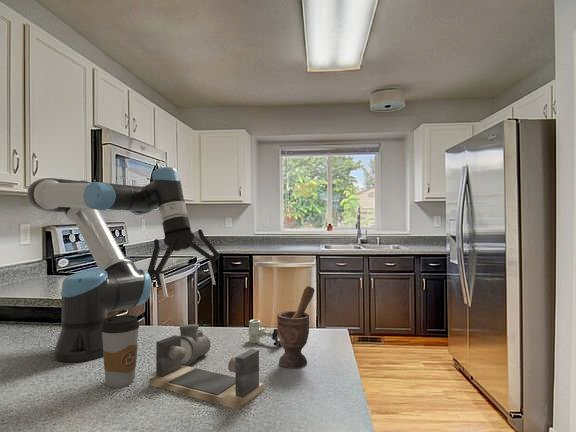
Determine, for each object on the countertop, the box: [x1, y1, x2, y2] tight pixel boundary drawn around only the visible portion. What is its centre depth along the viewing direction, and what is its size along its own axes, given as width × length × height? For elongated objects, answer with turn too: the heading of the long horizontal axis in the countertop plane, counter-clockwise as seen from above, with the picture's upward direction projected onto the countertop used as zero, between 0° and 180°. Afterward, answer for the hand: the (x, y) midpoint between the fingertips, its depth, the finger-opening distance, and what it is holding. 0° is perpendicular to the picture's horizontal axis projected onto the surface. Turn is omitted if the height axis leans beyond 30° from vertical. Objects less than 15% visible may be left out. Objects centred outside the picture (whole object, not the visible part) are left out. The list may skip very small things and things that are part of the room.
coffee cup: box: [101, 314, 140, 389], centre depth 90 cm, size 8×8×15 cm
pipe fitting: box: [179, 323, 211, 367], centre depth 105 cm, size 12×8×10 cm
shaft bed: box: [149, 335, 265, 410], centre depth 87 cm, size 25×10×10 cm, turn 62°
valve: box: [247, 319, 282, 348], centre depth 119 cm, size 7×7×12 cm
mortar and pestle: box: [276, 285, 315, 369], centre depth 103 cm, size 12×9×20 cm
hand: (190, 290), depth 107 cm, fingers open, 13 cm apart
